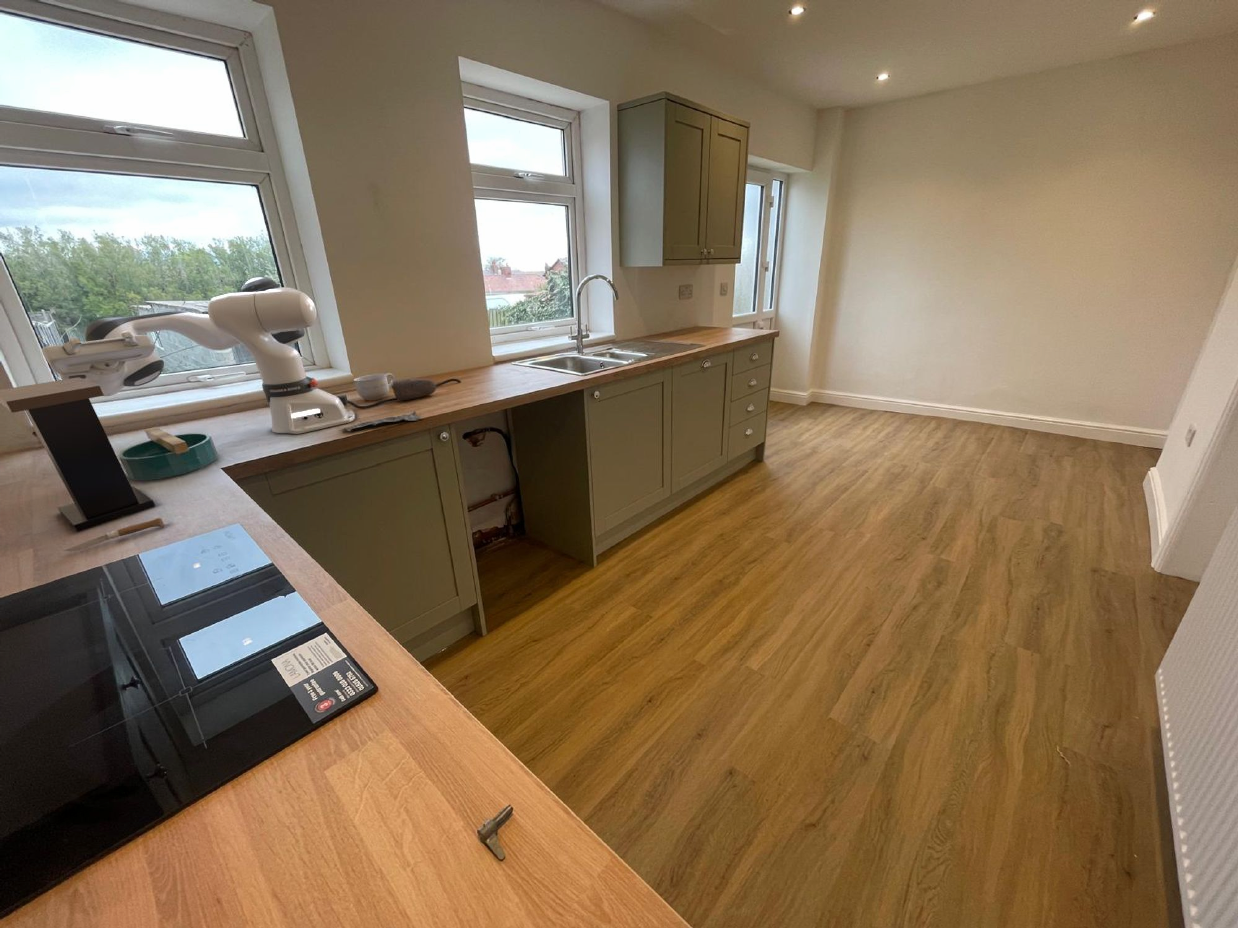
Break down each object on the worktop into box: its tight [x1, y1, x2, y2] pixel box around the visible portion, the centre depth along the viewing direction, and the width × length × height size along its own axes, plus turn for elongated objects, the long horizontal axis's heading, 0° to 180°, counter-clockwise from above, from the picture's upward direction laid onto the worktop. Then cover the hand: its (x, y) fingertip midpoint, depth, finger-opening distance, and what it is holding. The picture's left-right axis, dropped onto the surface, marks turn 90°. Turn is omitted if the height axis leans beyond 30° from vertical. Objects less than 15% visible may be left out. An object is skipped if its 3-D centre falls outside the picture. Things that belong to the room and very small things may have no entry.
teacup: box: [353, 372, 396, 401], centre depth 179 cm, size 14×11×8 cm
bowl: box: [117, 432, 219, 481], centre depth 124 cm, size 18×18×6 cm
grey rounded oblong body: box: [391, 378, 437, 401], centre depth 176 cm, size 15×5×7 cm, turn 126°
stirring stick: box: [144, 426, 189, 454], centre depth 123 cm, size 22×2×2 cm, turn 55°
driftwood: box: [343, 410, 420, 432], centre depth 151 cm, size 21×7×2 cm, turn 121°
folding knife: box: [63, 517, 165, 552], centre depth 92 cm, size 14×2×2 cm, turn 135°
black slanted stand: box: [0, 377, 156, 533], centre depth 100 cm, size 16×12×26 cm
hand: (102, 337), depth 122 cm, fingers open, 8 cm apart
